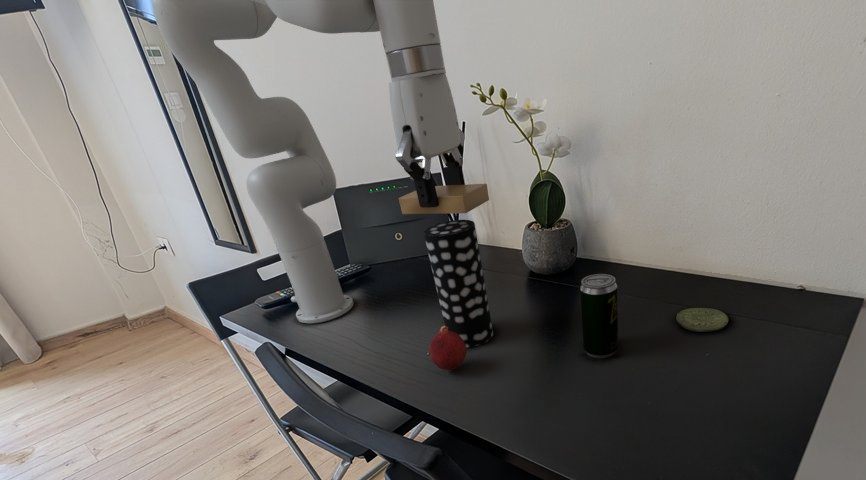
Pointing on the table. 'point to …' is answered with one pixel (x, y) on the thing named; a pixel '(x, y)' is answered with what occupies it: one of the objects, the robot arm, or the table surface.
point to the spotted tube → (460, 280)
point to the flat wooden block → (448, 200)
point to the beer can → (599, 315)
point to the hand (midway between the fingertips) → (443, 198)
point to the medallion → (702, 319)
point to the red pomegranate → (447, 349)
